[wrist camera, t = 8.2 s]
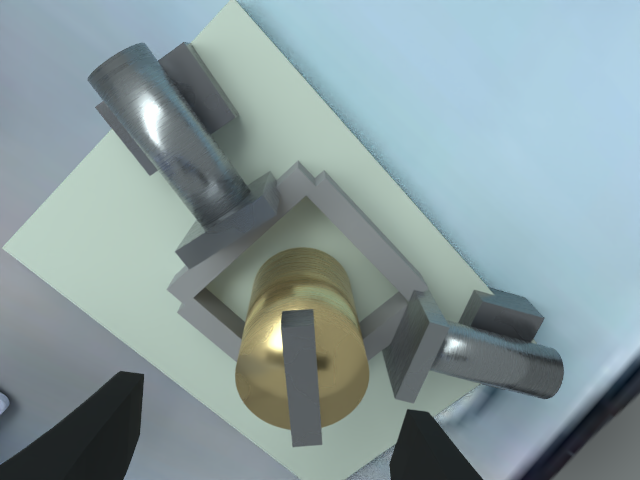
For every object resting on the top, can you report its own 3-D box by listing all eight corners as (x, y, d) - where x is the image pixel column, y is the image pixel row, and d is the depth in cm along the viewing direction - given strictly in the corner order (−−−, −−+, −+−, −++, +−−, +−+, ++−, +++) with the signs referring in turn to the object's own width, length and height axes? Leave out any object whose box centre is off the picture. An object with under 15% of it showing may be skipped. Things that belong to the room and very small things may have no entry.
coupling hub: (352, 333, 22) (373, 441, 16) (258, 340, 22) (241, 450, 15) (349, 241, 20) (370, 321, 14) (247, 248, 20) (223, 331, 14)
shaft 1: (286, 177, 20) (281, 211, 15) (210, 226, 20) (184, 272, 16) (187, 31, 18) (147, 21, 13) (106, 91, 18) (42, 101, 14)
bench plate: (321, 483, 26) (322, 519, 24) (12, 241, 20) (-20, 261, 18) (529, 334, 23) (552, 361, 21) (235, 0, 17) (226, -9, 15)
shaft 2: (375, 335, 23) (392, 402, 18) (404, 263, 21) (431, 317, 17) (498, 367, 24) (544, 438, 19) (534, 300, 22) (592, 360, 18)
